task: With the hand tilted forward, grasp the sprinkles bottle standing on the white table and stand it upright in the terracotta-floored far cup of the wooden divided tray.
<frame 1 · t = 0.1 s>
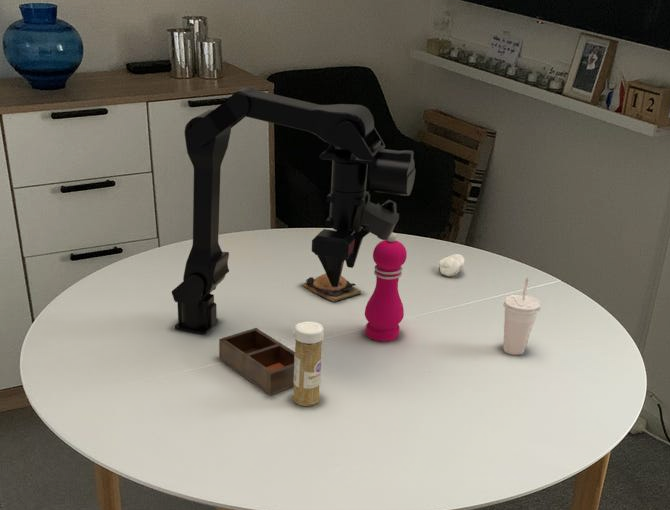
hand: (342, 276, 153), 15 cm above the table, tool pointing down, fingers open, 9 cm apart
dumpling: (449, 273, 193), on the table
smoothie: (513, 351, 162), on the table
wooden divided tray: (262, 370, 155), on the table
burger on wooden board: (331, 290, 184), on the table
pepper mill: (382, 335, 167), on the table
sprinkles bottle: (305, 401, 146), on the table
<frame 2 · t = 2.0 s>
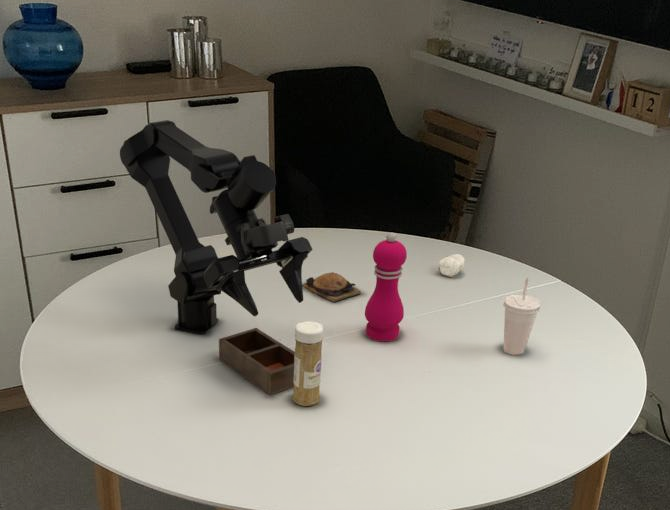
hand: (279, 308, 145), 13 cm above the table, tool tilted 45°, fingers open, 9 cm apart
nothing on the table moved.
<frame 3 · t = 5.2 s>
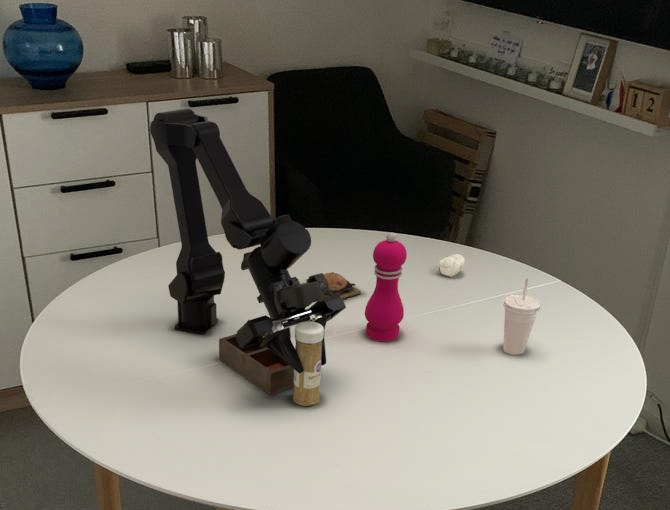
hand: (312, 368, 142), 7 cm above the table, tool tilted 45°, fingers closed on sprinkles bottle, 4 cm apart
sprinkles bottle: (306, 401, 146), on the table, touching gripper
everything else where it was.
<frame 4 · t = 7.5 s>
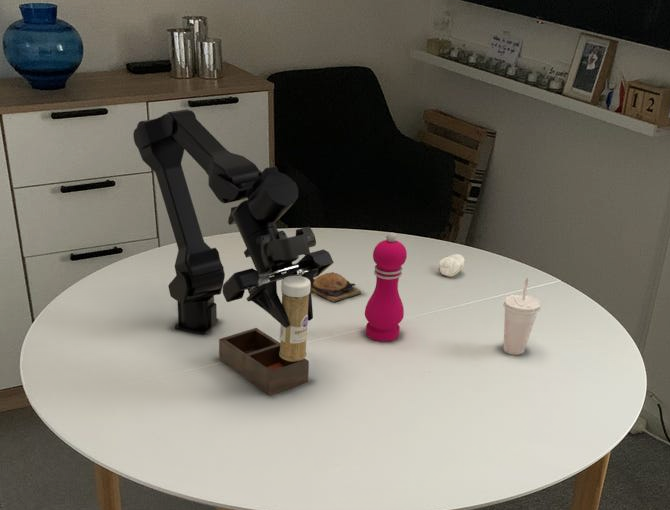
hand: (299, 323, 141), 13 cm above the table, tool tilted 45°, fingers closed on sprinkles bottle, 4 cm apart
sprinkles bottle: (292, 356, 146), point 6 cm above the table, touching gripper
everything else where it was.
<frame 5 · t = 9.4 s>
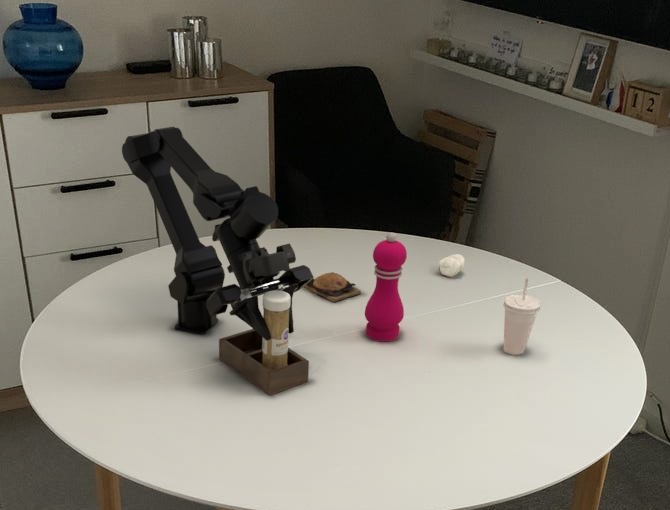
hand: (280, 336, 147), 9 cm above the table, tool tilted 45°, fingers closed on sprinkles bottle, 4 cm apart
sprinkles bottle: (274, 368, 151), point 2 cm above the table, touching gripper
everything else where it was.
when the fingers open (7 cm above the table, at t = 10.2 s): sprinkles bottle stays where it is, resting on wooden divided tray.
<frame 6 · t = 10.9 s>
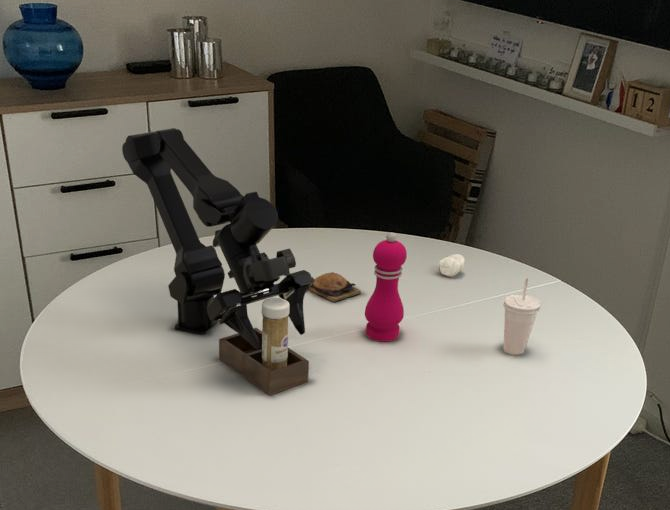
hand: (281, 340, 147), 8 cm above the table, tool tilted 45°, fingers open, 9 cm apart
sprinkles bottle: (274, 375, 152), point 1 cm above the table, touching wooden divided tray
everything else where it was.
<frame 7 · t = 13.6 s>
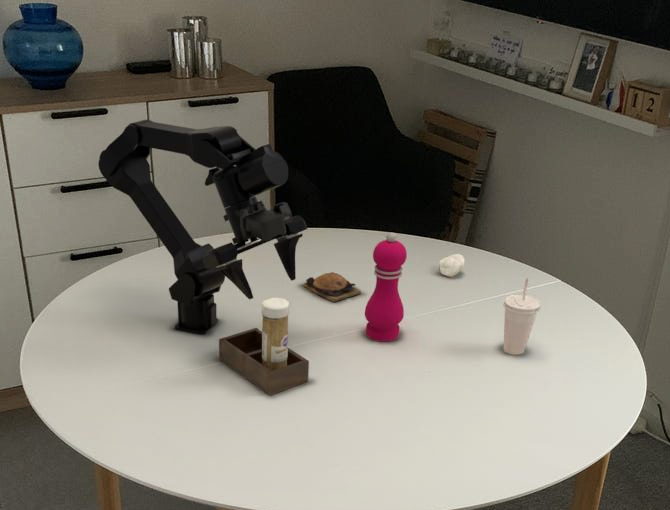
hand: (272, 289, 153), 13 cm above the table, tool tilted 30°, fingers open, 9 cm apart
nothing on the table moved.
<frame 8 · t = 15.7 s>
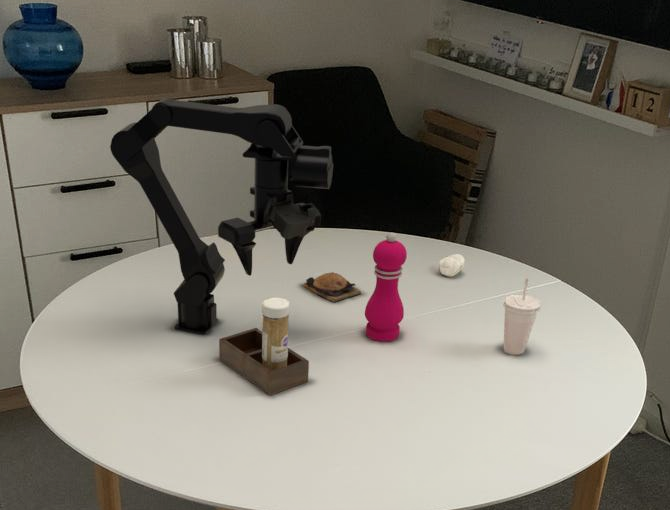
hand: (269, 269, 160), 13 cm above the table, tool pointing down, fingers open, 9 cm apart
nothing on the table moved.
at the end: sprinkles bottle 0.2 cm from the target spot in the wooden divided tray, point 0.6 cm above the wooden divided tray's base; sprinkles bottle tilted 0°; the gripper is holding nothing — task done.
